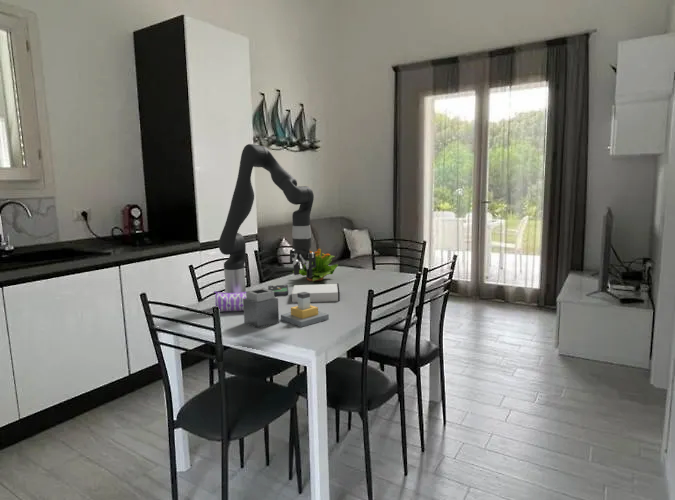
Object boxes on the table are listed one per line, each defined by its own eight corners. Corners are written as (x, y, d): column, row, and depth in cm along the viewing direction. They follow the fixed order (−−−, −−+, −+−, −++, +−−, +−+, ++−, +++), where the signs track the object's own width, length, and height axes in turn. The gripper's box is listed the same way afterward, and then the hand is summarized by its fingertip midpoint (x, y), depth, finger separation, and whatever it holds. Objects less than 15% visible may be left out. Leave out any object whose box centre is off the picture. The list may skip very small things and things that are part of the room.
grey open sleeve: (244, 322, 184) (242, 291, 182) (265, 317, 190) (263, 287, 188) (257, 328, 176) (255, 295, 174) (279, 322, 183) (277, 291, 181)
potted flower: (286, 282, 255) (285, 252, 252) (301, 274, 277) (300, 246, 275) (328, 284, 248) (327, 253, 245) (340, 275, 270) (340, 246, 267)
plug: (298, 314, 186) (297, 293, 185) (305, 312, 189) (304, 291, 187) (303, 316, 184) (302, 294, 182) (310, 314, 186) (309, 293, 185)
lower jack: (280, 319, 187) (280, 307, 186) (307, 312, 196) (307, 301, 195) (301, 326, 177) (300, 314, 176) (328, 319, 186) (328, 307, 185)
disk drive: (268, 290, 240) (267, 297, 225) (267, 285, 239) (267, 292, 225) (287, 289, 241) (288, 296, 227) (287, 284, 241) (288, 290, 226)
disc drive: (340, 302, 213) (339, 291, 213) (292, 303, 213) (291, 293, 212) (338, 292, 231) (338, 283, 230) (294, 294, 230) (294, 284, 230)
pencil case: (264, 305, 209) (263, 285, 208) (266, 311, 200) (265, 290, 199) (215, 309, 204) (214, 289, 203) (214, 315, 195) (213, 294, 194)
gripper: (283, 236, 184) (285, 275, 186) (305, 239, 173) (306, 280, 176) (298, 234, 189) (299, 272, 191) (320, 237, 178) (321, 277, 181)
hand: (302, 276), depth 184 cm, fingers open, 8 cm apart
